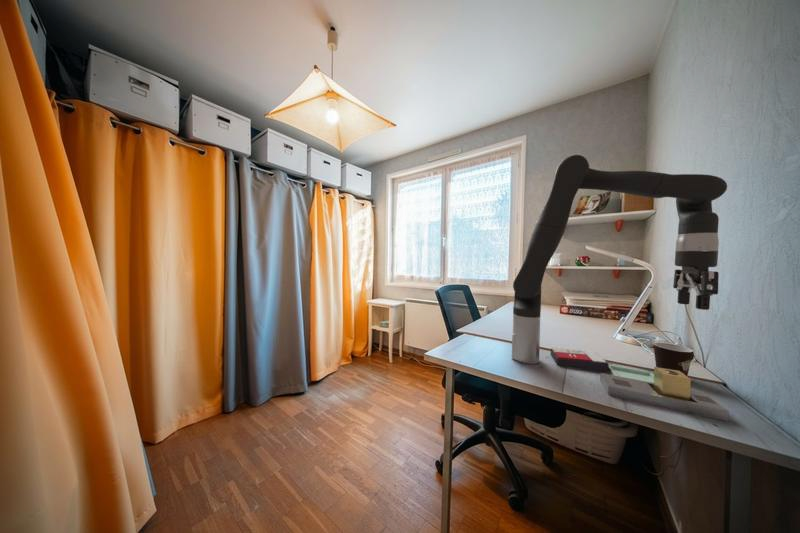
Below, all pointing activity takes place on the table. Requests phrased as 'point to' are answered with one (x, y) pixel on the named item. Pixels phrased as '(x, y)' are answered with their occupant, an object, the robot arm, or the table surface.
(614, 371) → the tray
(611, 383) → the rail
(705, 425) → the table surface
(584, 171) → the robot arm
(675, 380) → the tan holed block
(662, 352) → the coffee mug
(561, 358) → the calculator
